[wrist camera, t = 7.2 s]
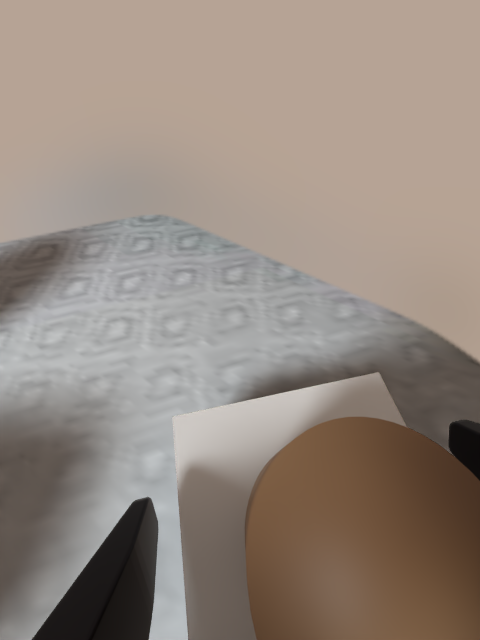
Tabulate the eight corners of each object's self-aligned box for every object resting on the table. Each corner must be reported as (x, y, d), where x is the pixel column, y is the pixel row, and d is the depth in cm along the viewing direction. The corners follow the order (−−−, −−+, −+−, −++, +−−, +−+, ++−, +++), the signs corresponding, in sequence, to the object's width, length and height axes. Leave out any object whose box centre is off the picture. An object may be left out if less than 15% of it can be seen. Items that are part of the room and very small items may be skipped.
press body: (405, 596, 11) (544, 694, 6) (221, 655, 10) (202, 824, 5) (332, 408, 15) (378, 372, 10) (196, 439, 14) (172, 416, 9)
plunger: (360, 561, 11) (656, 761, 3) (256, 592, 10) (299, 916, 3) (321, 446, 13) (435, 395, 5) (234, 467, 13) (223, 444, 5)
